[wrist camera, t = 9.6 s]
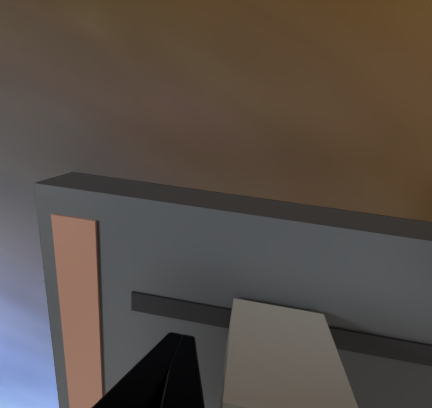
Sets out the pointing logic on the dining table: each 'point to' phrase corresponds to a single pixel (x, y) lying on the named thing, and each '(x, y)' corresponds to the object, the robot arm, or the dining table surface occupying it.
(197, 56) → the dining table surface
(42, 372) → the dining table surface
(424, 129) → the dining table surface
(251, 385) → the breaker
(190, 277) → the switch panel
